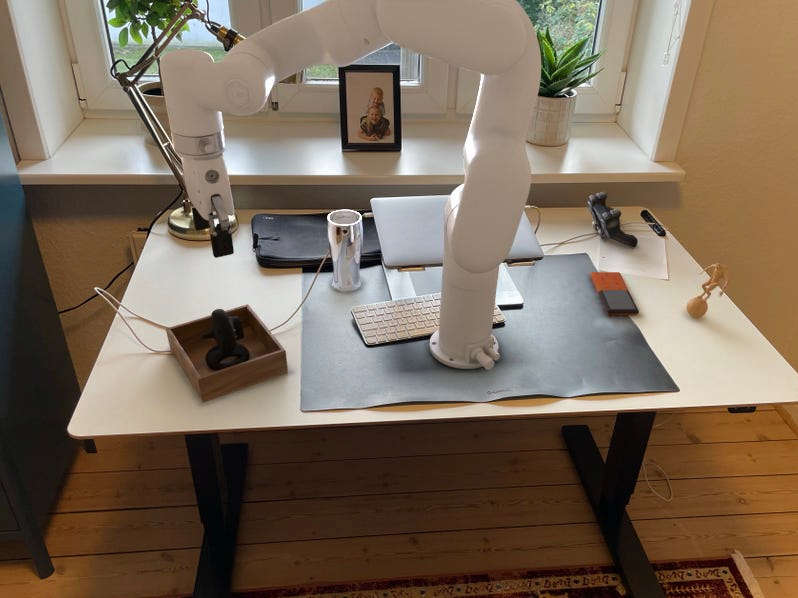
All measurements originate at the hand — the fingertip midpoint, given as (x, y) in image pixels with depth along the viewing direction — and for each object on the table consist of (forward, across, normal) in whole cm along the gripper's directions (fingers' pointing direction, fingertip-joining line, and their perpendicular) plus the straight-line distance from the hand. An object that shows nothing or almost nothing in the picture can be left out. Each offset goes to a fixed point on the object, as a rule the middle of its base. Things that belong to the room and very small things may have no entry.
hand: (214, 241), depth 121 cm
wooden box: (+21, -4, +2) cm, 22 cm away
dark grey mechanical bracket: (+21, +2, -91) cm, 94 cm away
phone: (+21, -19, -74) cm, 80 cm away
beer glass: (+21, +9, -28) cm, 36 cm away
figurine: (+21, -32, -85) cm, 93 cm away
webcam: (+21, -4, +2) cm, 22 cm away
